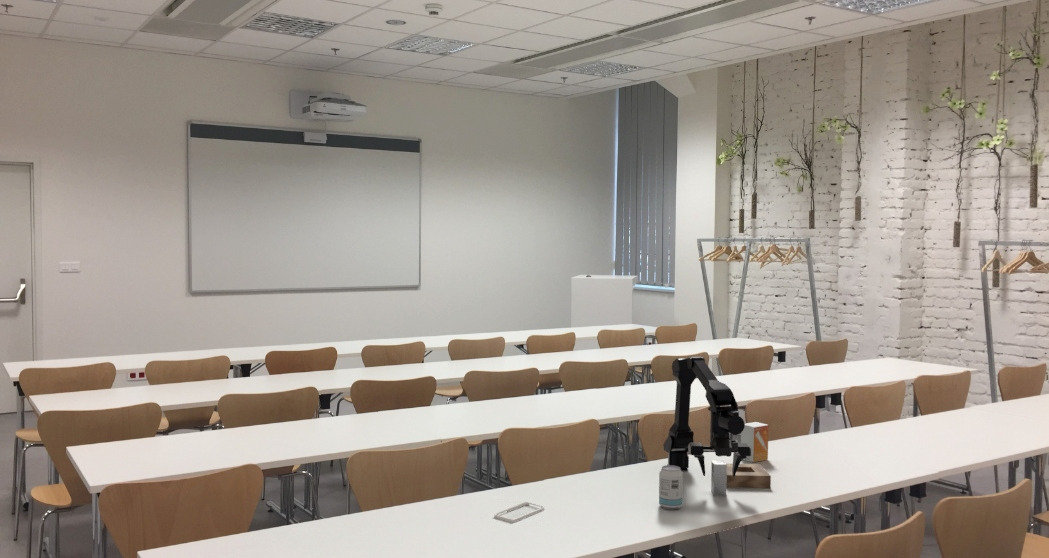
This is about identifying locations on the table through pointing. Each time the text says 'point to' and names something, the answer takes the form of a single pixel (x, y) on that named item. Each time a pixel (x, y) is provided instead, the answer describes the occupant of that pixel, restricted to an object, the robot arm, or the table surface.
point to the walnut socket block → (748, 476)
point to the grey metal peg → (718, 478)
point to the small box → (756, 440)
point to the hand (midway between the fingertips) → (718, 476)
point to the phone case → (520, 516)
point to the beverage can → (670, 487)
